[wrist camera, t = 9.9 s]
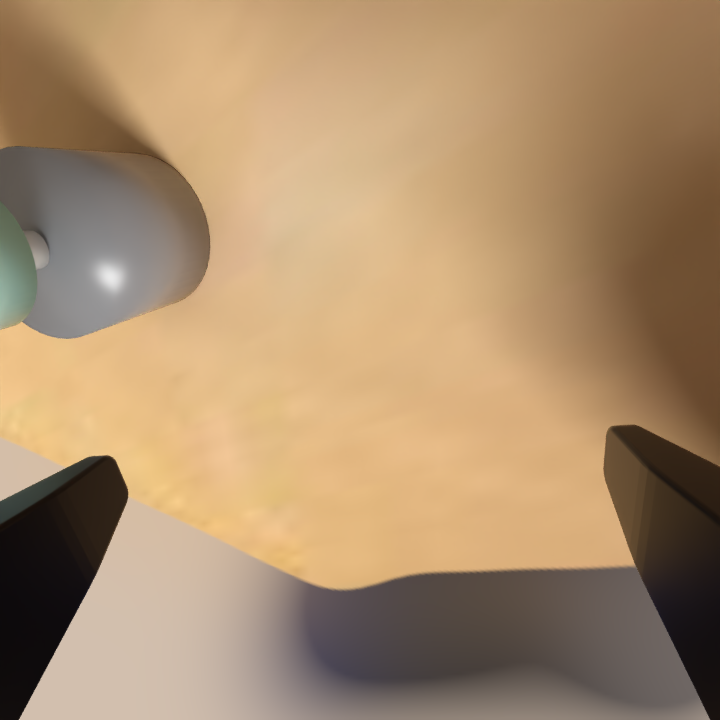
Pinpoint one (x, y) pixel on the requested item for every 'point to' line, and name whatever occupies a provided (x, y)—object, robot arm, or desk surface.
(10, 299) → the pump head
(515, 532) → the desk surface
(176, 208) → the grey rounded lump
